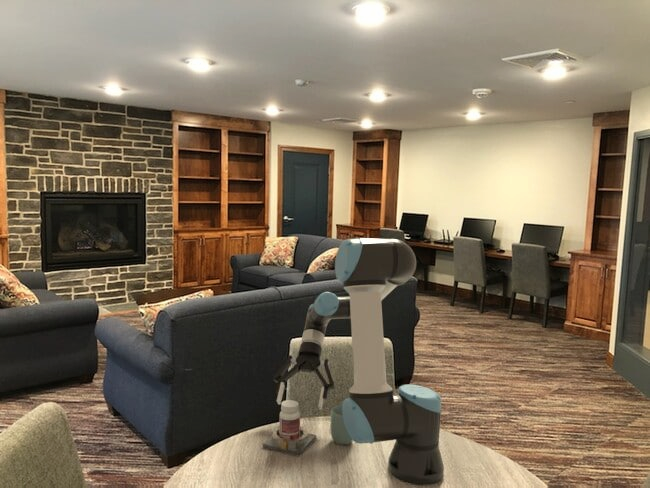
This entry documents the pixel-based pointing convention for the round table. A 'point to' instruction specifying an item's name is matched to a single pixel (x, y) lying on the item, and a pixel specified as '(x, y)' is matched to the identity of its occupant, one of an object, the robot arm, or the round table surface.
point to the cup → (339, 426)
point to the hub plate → (290, 450)
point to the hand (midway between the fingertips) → (299, 405)
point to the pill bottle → (289, 420)
